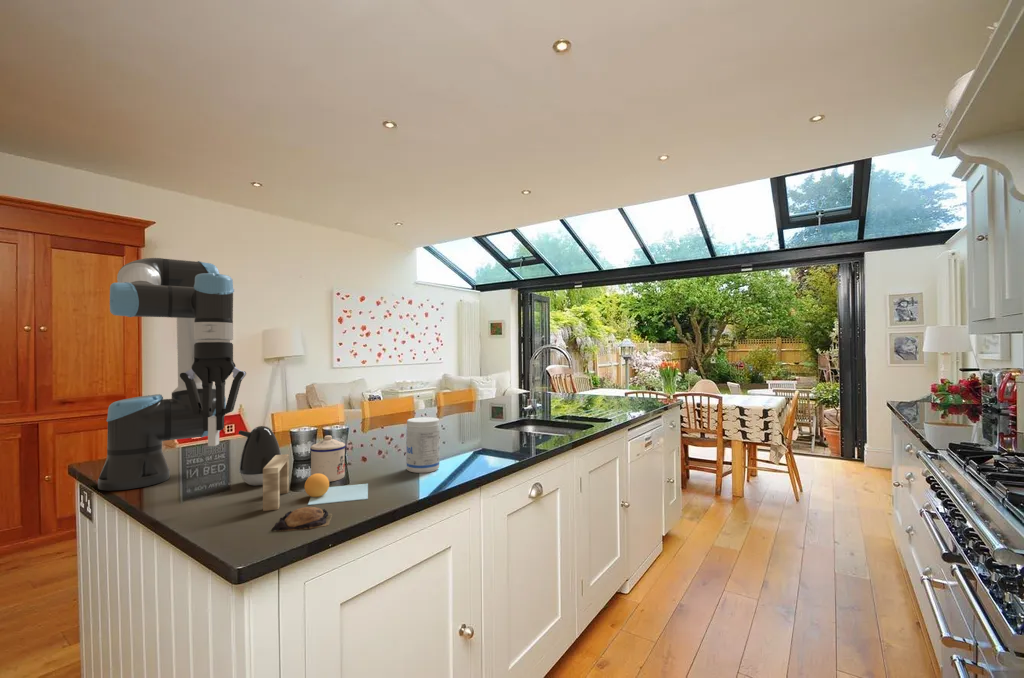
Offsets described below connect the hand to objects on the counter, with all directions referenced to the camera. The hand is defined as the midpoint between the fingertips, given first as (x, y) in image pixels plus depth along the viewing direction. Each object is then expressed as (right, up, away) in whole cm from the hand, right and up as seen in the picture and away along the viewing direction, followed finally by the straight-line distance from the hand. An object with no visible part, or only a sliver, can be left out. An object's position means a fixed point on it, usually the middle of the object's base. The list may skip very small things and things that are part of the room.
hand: (213, 444), depth 105 cm
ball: (+21, -11, +6) cm, 25 cm away
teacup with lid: (+17, -15, +24) cm, 32 cm away
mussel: (+26, -14, -11) cm, 31 cm away
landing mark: (+26, -14, +8) cm, 30 cm away
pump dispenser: (+1, -15, +19) cm, 24 cm away
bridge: (+13, -14, +3) cm, 19 cm away
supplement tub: (+42, -14, +30) cm, 54 cm away
